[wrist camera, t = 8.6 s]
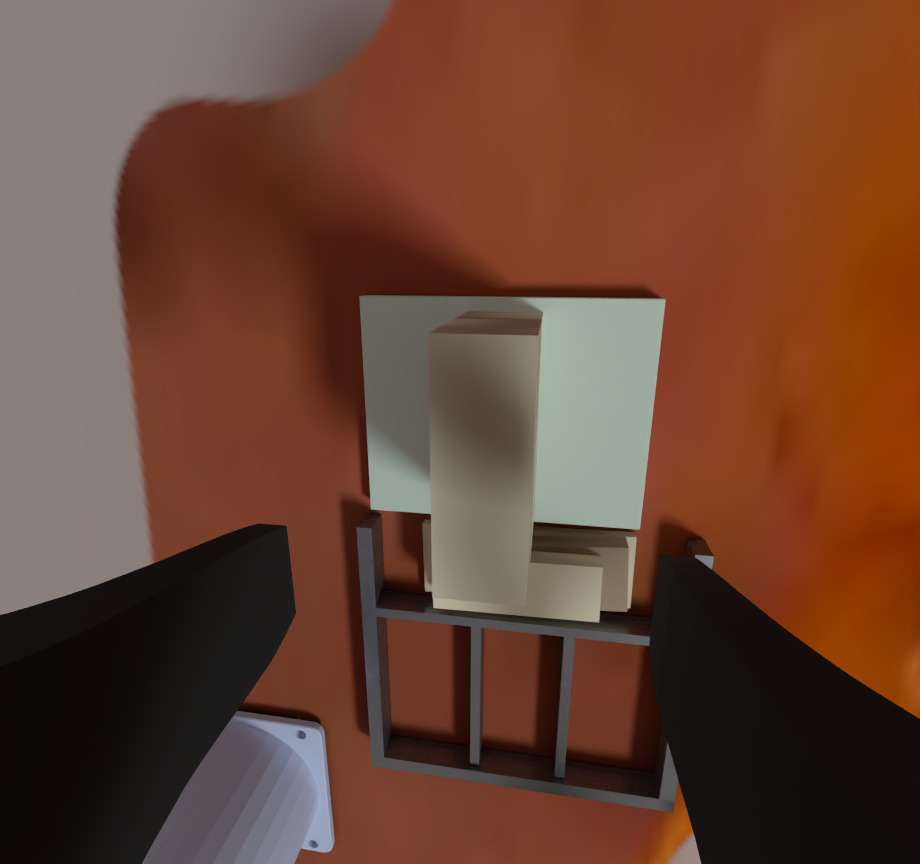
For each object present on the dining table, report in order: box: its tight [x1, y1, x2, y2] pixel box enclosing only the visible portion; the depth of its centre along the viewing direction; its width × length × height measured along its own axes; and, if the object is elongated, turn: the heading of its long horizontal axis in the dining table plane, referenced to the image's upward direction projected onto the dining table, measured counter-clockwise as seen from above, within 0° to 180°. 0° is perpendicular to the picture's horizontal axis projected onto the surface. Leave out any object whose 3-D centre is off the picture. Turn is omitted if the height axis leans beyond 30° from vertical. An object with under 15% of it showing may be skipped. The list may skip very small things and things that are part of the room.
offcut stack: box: [422, 519, 637, 623], centre depth 20 cm, size 8×3×2 cm, turn 91°
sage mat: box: [359, 295, 666, 530], centre depth 19 cm, size 10×8×1 cm
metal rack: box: [356, 514, 714, 812], centre depth 22 cm, size 13×12×1 cm
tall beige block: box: [428, 311, 543, 607], centre depth 16 cm, size 2×7×6 cm, turn 0°
